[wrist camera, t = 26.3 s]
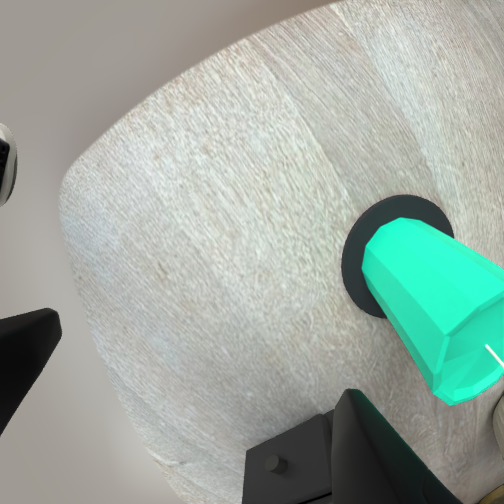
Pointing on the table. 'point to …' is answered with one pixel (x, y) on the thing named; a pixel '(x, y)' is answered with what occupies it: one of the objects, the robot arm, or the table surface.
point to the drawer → (290, 466)
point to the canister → (499, 424)
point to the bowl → (494, 497)
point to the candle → (440, 306)
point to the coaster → (365, 231)
